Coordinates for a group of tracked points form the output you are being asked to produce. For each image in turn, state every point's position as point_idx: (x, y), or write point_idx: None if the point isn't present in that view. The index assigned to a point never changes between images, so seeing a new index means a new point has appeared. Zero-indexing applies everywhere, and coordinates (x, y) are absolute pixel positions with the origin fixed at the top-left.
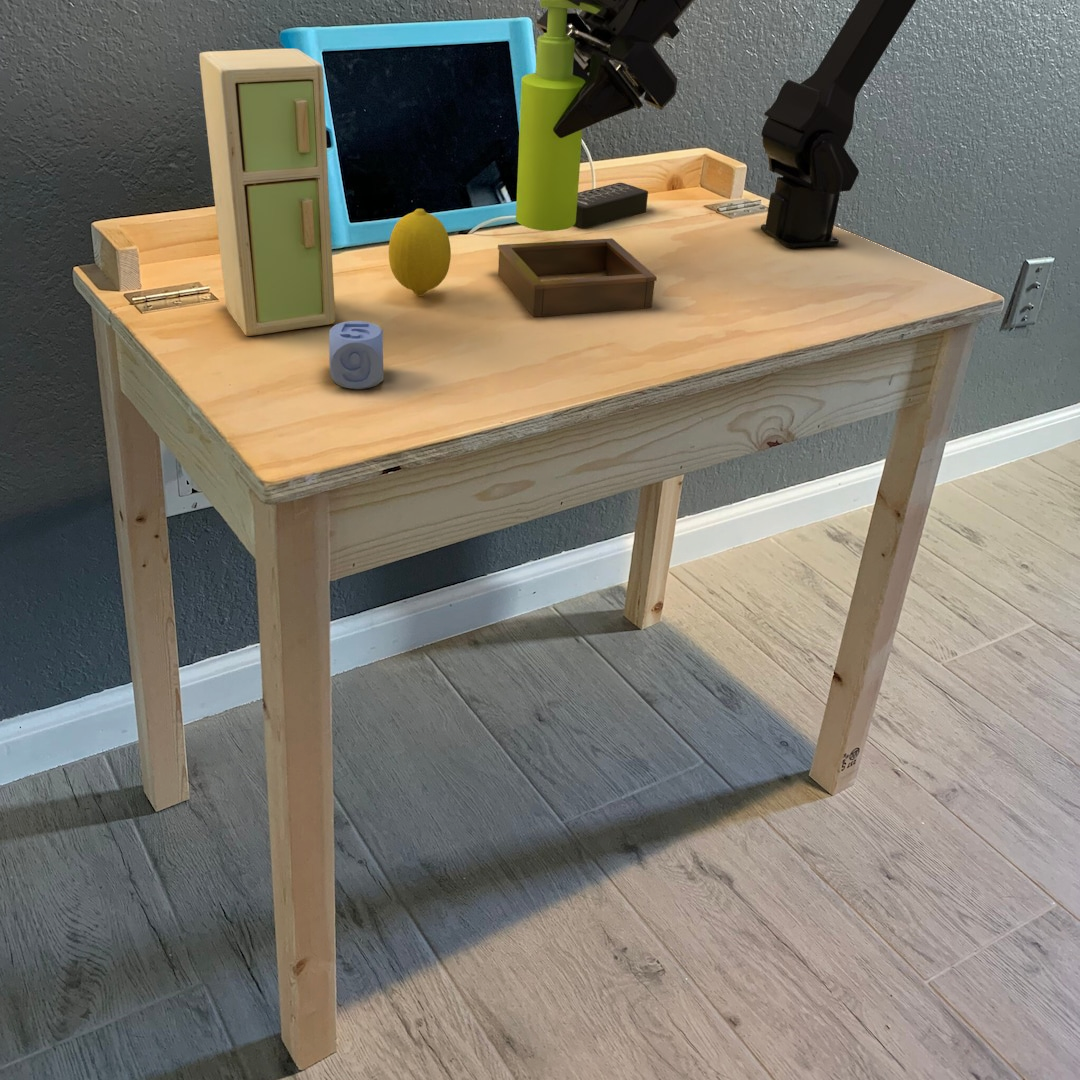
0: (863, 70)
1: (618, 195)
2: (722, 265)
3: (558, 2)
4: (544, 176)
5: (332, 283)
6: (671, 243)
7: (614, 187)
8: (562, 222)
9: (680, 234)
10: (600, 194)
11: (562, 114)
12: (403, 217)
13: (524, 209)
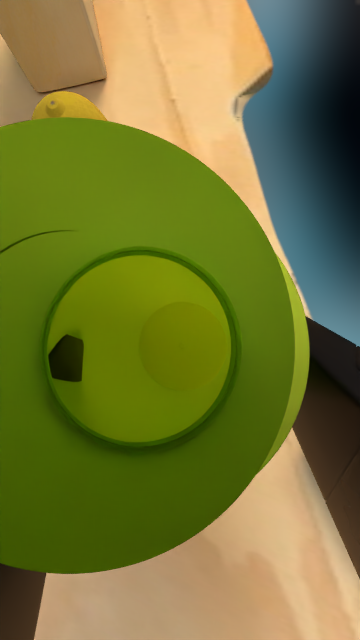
0: None
1: None
2: (145, 582)
3: None
4: (120, 320)
5: (10, 49)
6: (237, 545)
7: None
8: (137, 358)
9: (273, 576)
10: None
11: (52, 349)
12: (65, 92)
13: (158, 302)
